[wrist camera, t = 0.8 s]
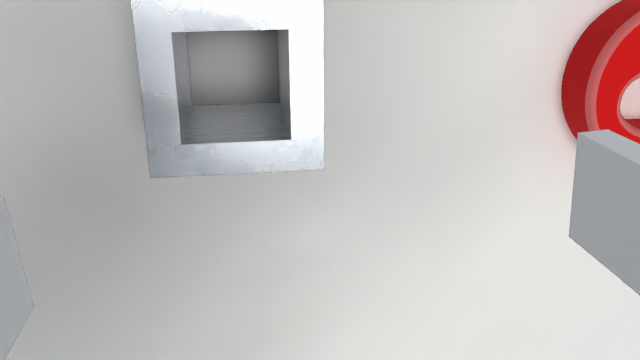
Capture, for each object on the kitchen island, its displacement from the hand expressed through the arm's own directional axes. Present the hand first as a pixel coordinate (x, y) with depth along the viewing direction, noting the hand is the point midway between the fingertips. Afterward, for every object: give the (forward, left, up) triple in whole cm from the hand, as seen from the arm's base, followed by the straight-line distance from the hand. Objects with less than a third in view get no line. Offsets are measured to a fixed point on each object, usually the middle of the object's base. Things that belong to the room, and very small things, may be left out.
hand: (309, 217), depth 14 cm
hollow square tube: (-2, +1, -19) cm, 19 cm away
